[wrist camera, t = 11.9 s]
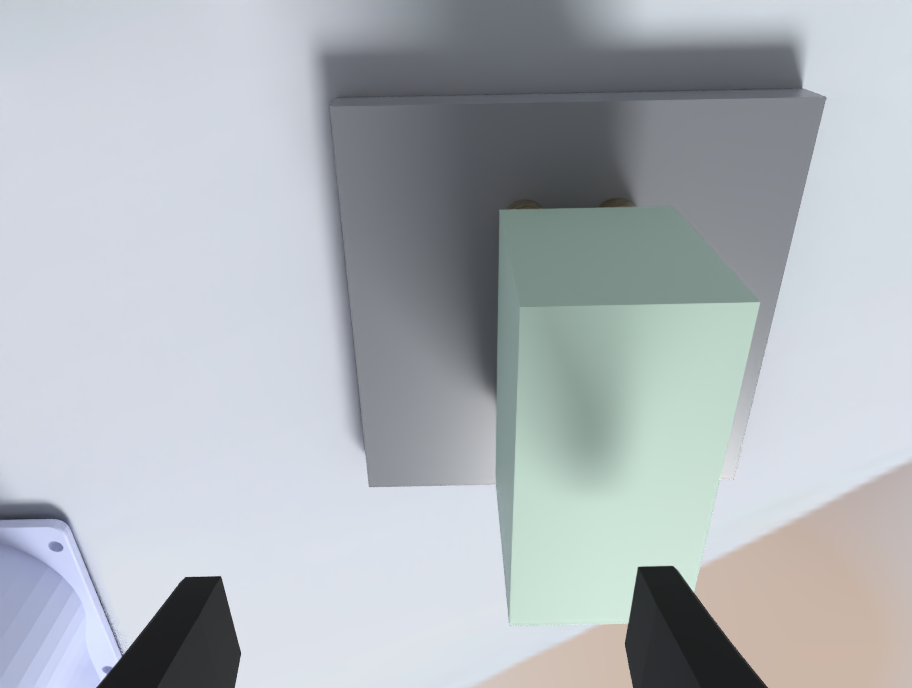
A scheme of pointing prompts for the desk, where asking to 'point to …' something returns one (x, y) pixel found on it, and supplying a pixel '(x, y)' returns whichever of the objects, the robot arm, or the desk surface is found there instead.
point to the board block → (610, 403)
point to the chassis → (534, 187)
